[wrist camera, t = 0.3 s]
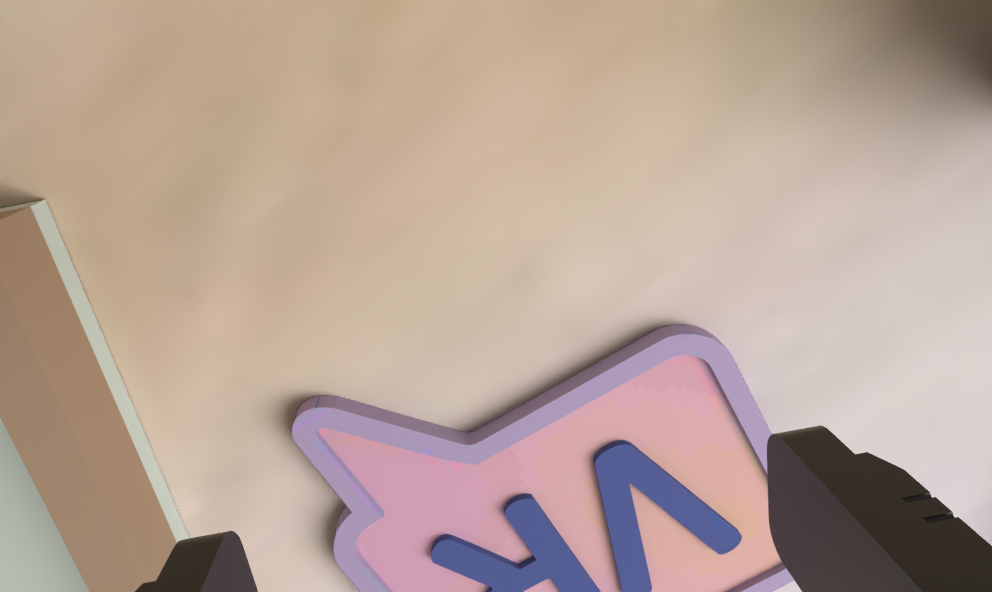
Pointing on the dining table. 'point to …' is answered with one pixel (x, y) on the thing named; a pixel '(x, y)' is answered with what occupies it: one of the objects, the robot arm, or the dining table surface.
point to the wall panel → (69, 433)
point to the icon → (562, 483)
